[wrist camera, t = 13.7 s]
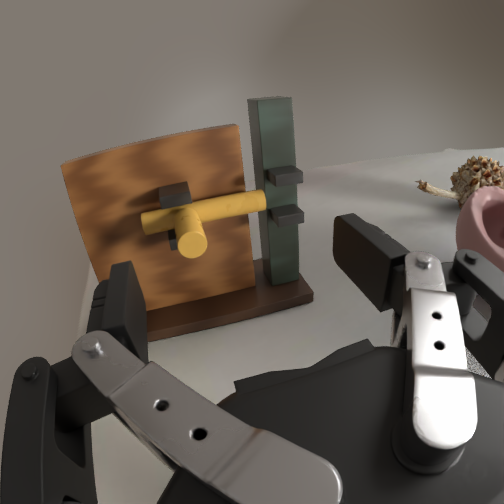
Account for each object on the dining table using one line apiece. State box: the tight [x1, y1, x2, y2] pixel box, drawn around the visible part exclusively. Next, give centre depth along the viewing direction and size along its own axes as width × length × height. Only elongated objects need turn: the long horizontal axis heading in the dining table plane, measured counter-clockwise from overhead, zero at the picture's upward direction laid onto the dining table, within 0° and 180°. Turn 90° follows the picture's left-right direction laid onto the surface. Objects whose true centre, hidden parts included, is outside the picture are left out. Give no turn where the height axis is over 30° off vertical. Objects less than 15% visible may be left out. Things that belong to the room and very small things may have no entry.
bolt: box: [141, 189, 266, 258], centre depth 23 cm, size 10×6×2 cm, turn 106°
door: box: [61, 96, 314, 342], centre depth 28 cm, size 20×8×19 cm, turn 106°
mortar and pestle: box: [456, 186, 504, 273], centre depth 27 cm, size 12×12×11 cm
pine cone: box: [416, 156, 504, 208], centre depth 43 cm, size 22×10×10 cm, turn 102°
